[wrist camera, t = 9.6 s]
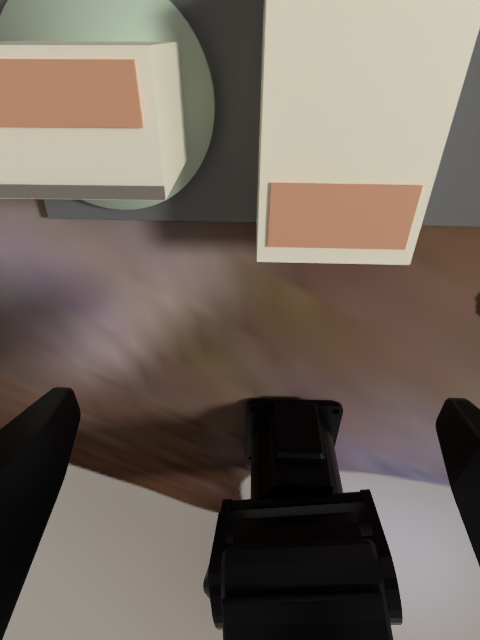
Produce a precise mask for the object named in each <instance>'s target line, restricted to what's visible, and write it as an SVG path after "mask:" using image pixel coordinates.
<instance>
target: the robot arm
mask: <svg viewBox="0 0 480 640" xmlns="http://www.w3.org/2000/svg"><path fill="white" fill-rule="evenodd" d="M334 409H335V410H334ZM342 414H343V409H342V405H341V404H340V403H338V402H316V401H279V400H250V401H248V402H247V404H246V440H245V459H246V460H247V461H248V462H251V499H248V500H232V499H224V500H223V502H222V508H221V512H219V514H218V520H217V525H216V531H215V536H214V542H213V547H212V553H211V558H210V563H209V567H208V570H207V573H206V576H205V578H204V585H203V586H204V592H205V593H206V595H207V596H208V597H209V598H210V601H211V608H212V616H213V621H214V624H215V627H216V628H217V629H223V640H393V636H392V630H391V625H401V624H402V607H401V600H400V594H399V588H398V583H397V578H396V573H395V569H394V565H393V561H392V557H391V554H390V550H389V547H388V544H387V541H386V538H385V535H384V532H383V529H382V526H381V523H380V520H379V517H378V514H377V511H376V507H375V504H374V502H373V498H372V495H371V492H370V490H369V489H367V490H360V492H350V493H349V492H348V493H343V490H342V485H341V480H340V475H339V470H338V464H337V459H336V454H335V449H334V447H335V443H336V438H337V434H338V430H339V426H340V422H341V418H342ZM80 416H81V413H80V408H79V405H78V402H77V399H76V396H75V393H74V391H73V390H72V389H71V388H66V387H56V388H53V389H51V390H50V391H49V392H47V393H46V394H45V395H43V396H42V397H41V398H40V399H38V400H37V401H36V402H35V403H33V404H32V405H31V406H29V407H28V408H27V409H26V410H24V411H23V412H22V413H20V414H19V415H18V416H17V417H15V418H14V419H13V420H12V421H10V422H9V423H8V424H6V425H5V426H4V427H3V428H1V429H0V640H2V639H3V636H4V634H5V631H6V628H7V626H8V623H9V621H10V618H11V616H12V613H13V610H14V608H15V605H16V602H17V600H18V597H19V595H20V592H21V589H22V587H23V584H24V582H25V579H26V577H27V574H28V571H29V569H30V566H31V564H32V561H33V559H34V556H35V553H36V551H37V548H38V546H39V543H40V540H41V538H42V535H43V533H44V530H45V527H46V525H47V522H48V520H49V517H50V515H51V512H52V509H53V507H54V504H55V502H56V499H57V496H58V494H59V491H60V488H61V486H62V483H63V480H64V477H65V474H66V471H67V467H68V463H69V459H70V456H71V452H72V448H73V444H74V440H75V437H76V433H77V429H78V425H79V422H80ZM436 431H437V435H438V439H439V443H440V447H441V451H442V455H443V459H444V463H445V467H446V471H447V475H448V479H449V482H450V486H451V490H452V492H453V495H454V498H455V501H456V504H457V507H458V509H459V511H460V515H461V517H462V520H463V523H464V525H465V528H466V530H467V534H468V536H469V539H470V542H471V544H472V547H473V550H474V552H475V555H476V558H477V560H478V563H479V566H480V409H479V408H478V407H477V406H475V405H474V404H473V403H471V402H470V401H469V400H467V399H465V398H448V399H447V400H446V401H445V402H444V404H443V407H442V409H441V411H440V413H439V415H438V417H437V420H436Z"/></svg>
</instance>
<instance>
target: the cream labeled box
mask: <svg viewBox="0 0 480 640" xmlns="http://www.w3.org/2000/svg"><path fill="white" fill-rule="evenodd" d="M479 29H480V0H264V10H263V40H262V69H261V99H260V129H259V158H258V188H257V217H256V237H257V262H290V263H339V264H388V265H410V263H411V259H412V256H413V253H414V249H415V246H416V242H417V239H418V236H419V232H420V229H421V225H422V222H423V219H424V215H425V212H426V208H427V205H428V202H429V198H430V195H431V192H432V188H433V185H434V181H435V178H436V175H437V171H438V168H439V164H440V161H441V158H442V154H443V151H444V147H445V144H446V141H447V137H448V134H449V131H450V127H451V124H452V120H453V117H454V114H455V110H456V107H457V103H458V100H459V97H460V93H461V90H462V86H463V83H464V80H465V76H466V73H467V69H468V66H469V63H470V59H471V56H472V53H473V49H474V46H475V42H476V39H477V36H478V32H479Z"/></svg>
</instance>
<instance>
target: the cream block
mask: <svg viewBox="0 0 480 640" xmlns="http://www.w3.org/2000/svg"><path fill="white" fill-rule="evenodd" d="M186 161H187V147H186V133H185V120H184V106H183V92H182V79H181V65H180V51H179V42H169V41H0V198H4V199H86V200H166V199H167V197H168V195H169V193H170V191H171V189H172V188H173V186H174V184H175V182H176V180H177V178H178V176H179V174H180V172H181V170H182V168H183V167H184V165H185V163H186Z"/></svg>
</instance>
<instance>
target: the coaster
mask: <svg viewBox="0 0 480 640" xmlns="http://www.w3.org/2000/svg"><path fill="white" fill-rule="evenodd" d="M0 41H169V42H179V51H180V65H181V79H182V92H183V106H184V120H185V133H186V147H187V161H186V163H185V165H184V167H183V168H182V170H181V172H180V174H179V176H178V178H177V180H176V182H175V184H174V186H173V188H172V189H171V191H170V193H169V195H168V197H167V199H169V198H170V197H172V196H173V195H175V194H176V193H178V192H179V191H180V190H181V189H182V188H183V187H184V186H185V185H186V184H188V182H189V181H190V180H191V179H192V177H193V176H194V175H195V174H196V172H197V170H198V169H199V167H200V165H201V164H202V162H203V159H204V157H205V155H206V152H207V150H208V148H209V145H210V141H211V138H212V134H213V129H214V122H215V107H216V102H215V90H214V83H213V78H212V73H211V69H210V66H209V63H208V60H207V57H206V54H205V52H204V49H203V47H202V45H201V43H200V40H199V38H198V37H197V35H196V33H195V31H194V30H193V28H192V26H191V25H190V23H189V22H188V20H187V19H186V18H185V16H184V15H183V14H182V12H181V11H180V10H179V8H178V7H177V6H176V5H175V4H174V3H173V2H172V1H171V0H8V1H7V3H6V4H5V6H4V8H3V10H2V13H1V15H0ZM167 199H166V200H167ZM81 200H83V201H86V202H88V203H91V204H94V205H97V206H100V207H105V208H110V209H120V210H131V209H140V208H146V207H150V206H153V205H156V204H159V203H161V202H163V201H165V200H86V199H81Z"/></svg>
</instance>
